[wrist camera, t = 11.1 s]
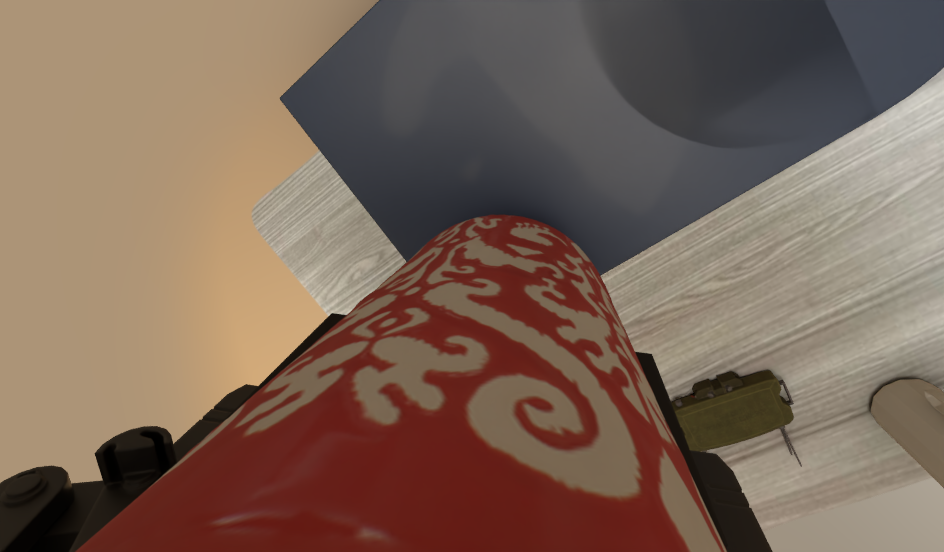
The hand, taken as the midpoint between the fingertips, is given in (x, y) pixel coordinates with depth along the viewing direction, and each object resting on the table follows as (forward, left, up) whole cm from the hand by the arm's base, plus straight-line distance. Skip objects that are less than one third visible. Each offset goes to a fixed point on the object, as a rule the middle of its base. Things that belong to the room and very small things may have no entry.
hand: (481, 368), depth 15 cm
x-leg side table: (+4, +10, -40) cm, 42 cm away
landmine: (+29, -29, -40) cm, 57 cm away
